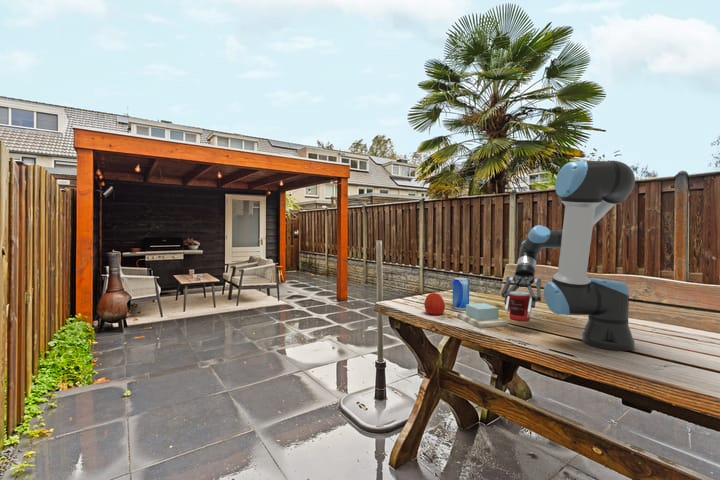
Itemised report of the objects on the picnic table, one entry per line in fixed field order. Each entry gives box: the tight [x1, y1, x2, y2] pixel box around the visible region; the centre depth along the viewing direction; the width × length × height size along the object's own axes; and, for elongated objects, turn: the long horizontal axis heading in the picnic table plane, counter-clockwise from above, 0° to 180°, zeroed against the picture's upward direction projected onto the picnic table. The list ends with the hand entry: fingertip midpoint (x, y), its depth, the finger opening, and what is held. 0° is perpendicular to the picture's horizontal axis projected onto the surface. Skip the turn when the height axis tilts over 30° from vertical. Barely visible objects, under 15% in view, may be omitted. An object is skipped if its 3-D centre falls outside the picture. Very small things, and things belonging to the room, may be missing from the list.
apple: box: [423, 292, 446, 316], centre depth 167 cm, size 10×10×10 cm
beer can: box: [452, 277, 470, 311], centre depth 177 cm, size 8×8×16 cm
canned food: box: [508, 290, 531, 322], centre depth 138 cm, size 8×8×11 cm
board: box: [457, 312, 509, 329], centre depth 152 cm, size 18×14×2 cm
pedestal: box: [465, 303, 500, 321], centre depth 152 cm, size 10×10×5 cm
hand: (517, 312), depth 136 cm, fingers closed on canned food, 8 cm apart
